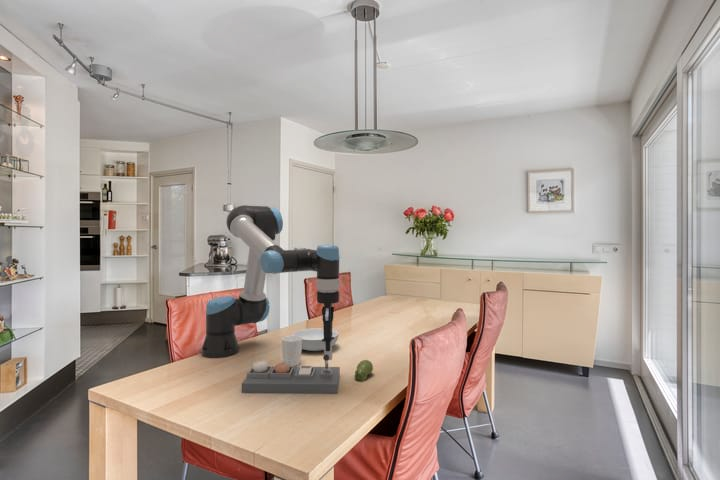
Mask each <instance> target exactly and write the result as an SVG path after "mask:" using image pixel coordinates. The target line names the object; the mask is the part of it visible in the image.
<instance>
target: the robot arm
mask: <svg viewBox="0 0 720 480" xmlns="http://www.w3.org/2000/svg"><path fill="white" fill-rule="evenodd" d="M225 223H226V227H227V230H228V231H229V233H230V234H231V235H233V236H234V237H235V238H238V239H241V241H242V242H243V243H244V244H245V245H246V246H247V247H248V248H249V250H248V257H247V263H246V272H245V277H244V278H245V279H244V286H243V290H241V291H240V292H239V295H238V298H235V296H233V295H226V296H224V295H223V296H218V297H215V298H212V299H210V300H208V301H207V303H206V305H205V307H206V309H205V332H206V333H205V338H204V341H203V344H202V347H201V355H202V356H203V357H204V358H226V357H230V356H234V355H235V354H237V353H239V351H240V345H239V342H238V339H237V335H236V333H235V332H236V331H235V330H236V326H242V325H250V324H257V323H260V322H263V321H265V320H266V319H267V318H268V316H269V313H270V301H269V298H267V294H266V293H265V292H264V290H265V283H266V282H265V281H266V276H267V274H275V275H276V274H283V273H297V272H316V290H317V292H316V302H317V303H319V304H323V306H322V308H321V314H322V324H323V325H322V326H323V327H322V328H323V329H324V338H323V339H322V341H324V350H323V356H324V355H328V356H329V360H328V361H332V360H333V346H332V339H334V337H332V335H333V333H332V330H333V321H334V312H335V306H333V304H337V303H339V301H340V292H339V289H340V284H341V282H342V281H341V280H340V250H339V249H340V248H339V246H338V245H336V244H319V245H317V247H316V249H311V248H303V249H284V248H282V247H281V246H280V245H279V244H277V242H275V240H276V235H278V234H280V233H281V232H282V231H283V226H284V221H283V216H282V214H281V212H280V210H279V209H277V208H276V207H274V206H269V205H268V206H265V205H263V206H262V205H239V206H236V207H234V208H233V209H231V210H230V212H229V213H228V215H227V217H226V222H225Z"/></svg>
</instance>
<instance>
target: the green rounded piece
mask: <svg viewBox="0 0 720 480" xmlns="http://www.w3.org/2000/svg"><path fill="white" fill-rule="evenodd" d="M373 369H374V365H373V362H372V361H371V360H368V359H363V360H361V361H359V362H358V364H357V366H356V369H355V374H354V380H355V381H359V382H360V381H361V382H364V381H366V380H367V378H368V376H369V375H371V374H372V372H373Z"/></svg>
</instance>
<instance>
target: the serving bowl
mask: <svg viewBox="0 0 720 480" xmlns="http://www.w3.org/2000/svg"><path fill="white" fill-rule="evenodd" d="M332 333H333V335H332V337H334V339H332V347H333V346H335V344H336V343H337V342H338V339H339V332H338V331H337V330H336V329H335V330H334V329H332ZM291 336H300V337H302V351H304V350H305V351H308V352H321V351H324V341H322V339H323V338H324V329H323V327H322V328H321V327H311V328H303V329H298V330H295V331H293V332H292V334H291Z"/></svg>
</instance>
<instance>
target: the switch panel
mask: <svg viewBox="0 0 720 480" xmlns="http://www.w3.org/2000/svg"><path fill="white" fill-rule="evenodd" d="M324 367H325V366H312V370H311V375H298V373H299V370H300V366H290V367H289V373H275V365H272V366H270V365H268V371H266V372H263V373H255V372H253V365H252V366H251V368H250V369H249V370H248V371H247V373H246V378H245V379H244V380H243V381H242V383H241V393H243V394H247V393H248V394H251V393H252V394H255V393H258V394H261V393H262V394H338V392H339V391H338V389H339V382H340V374H341V373H340V369H341V367H340V366H330V367H331V372H323V368H324Z"/></svg>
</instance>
